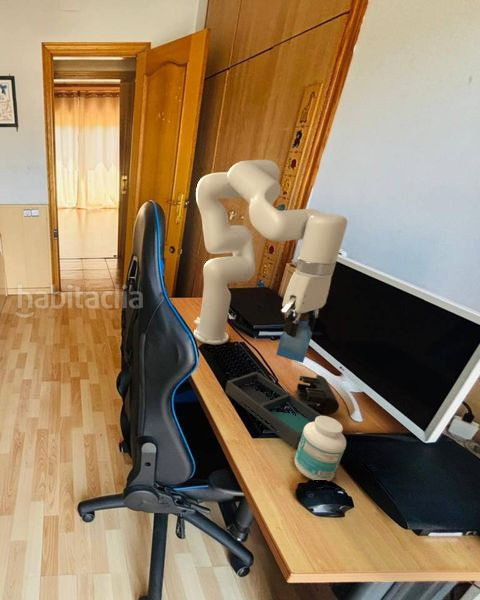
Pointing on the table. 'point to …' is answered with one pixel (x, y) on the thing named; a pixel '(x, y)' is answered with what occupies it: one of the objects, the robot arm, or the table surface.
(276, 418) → the rack
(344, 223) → the robot arm
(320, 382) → the dark brown rock
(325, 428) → the pill bottle
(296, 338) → the perfume bottle
